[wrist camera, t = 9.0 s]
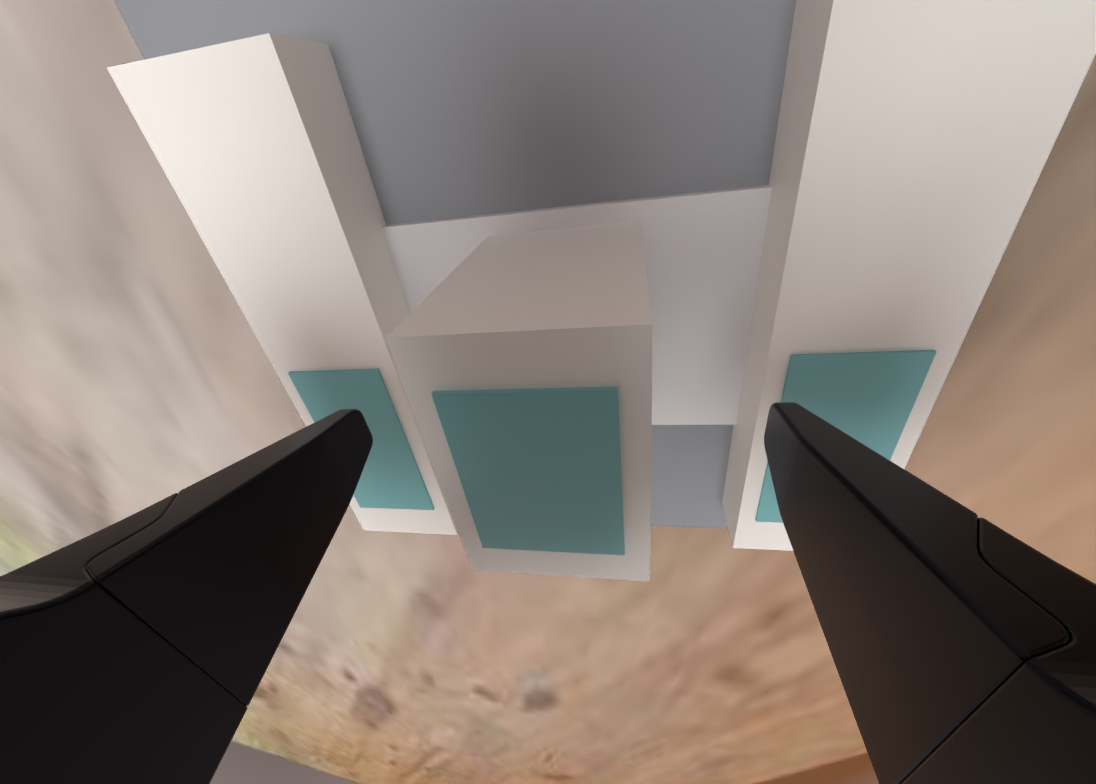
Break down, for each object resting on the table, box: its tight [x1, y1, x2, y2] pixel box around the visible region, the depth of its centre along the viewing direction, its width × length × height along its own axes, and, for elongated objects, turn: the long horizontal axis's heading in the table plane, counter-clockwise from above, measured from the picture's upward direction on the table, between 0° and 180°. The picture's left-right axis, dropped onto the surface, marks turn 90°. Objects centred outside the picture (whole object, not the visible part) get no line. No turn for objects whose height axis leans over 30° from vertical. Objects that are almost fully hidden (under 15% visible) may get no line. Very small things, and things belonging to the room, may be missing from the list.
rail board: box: [107, 0, 1096, 551], centre depth 12 cm, size 20×18×3 cm
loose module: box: [386, 221, 653, 581], centre depth 10 cm, size 4×6×6 cm, turn 7°
